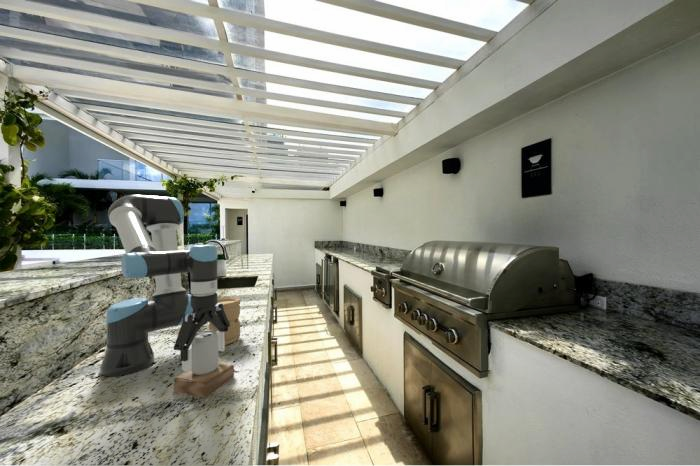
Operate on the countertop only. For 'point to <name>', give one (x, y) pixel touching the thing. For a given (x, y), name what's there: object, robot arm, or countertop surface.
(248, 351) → the countertop surface
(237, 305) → the container
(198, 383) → the tan cardboard box
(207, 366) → the can
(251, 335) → the countertop surface
